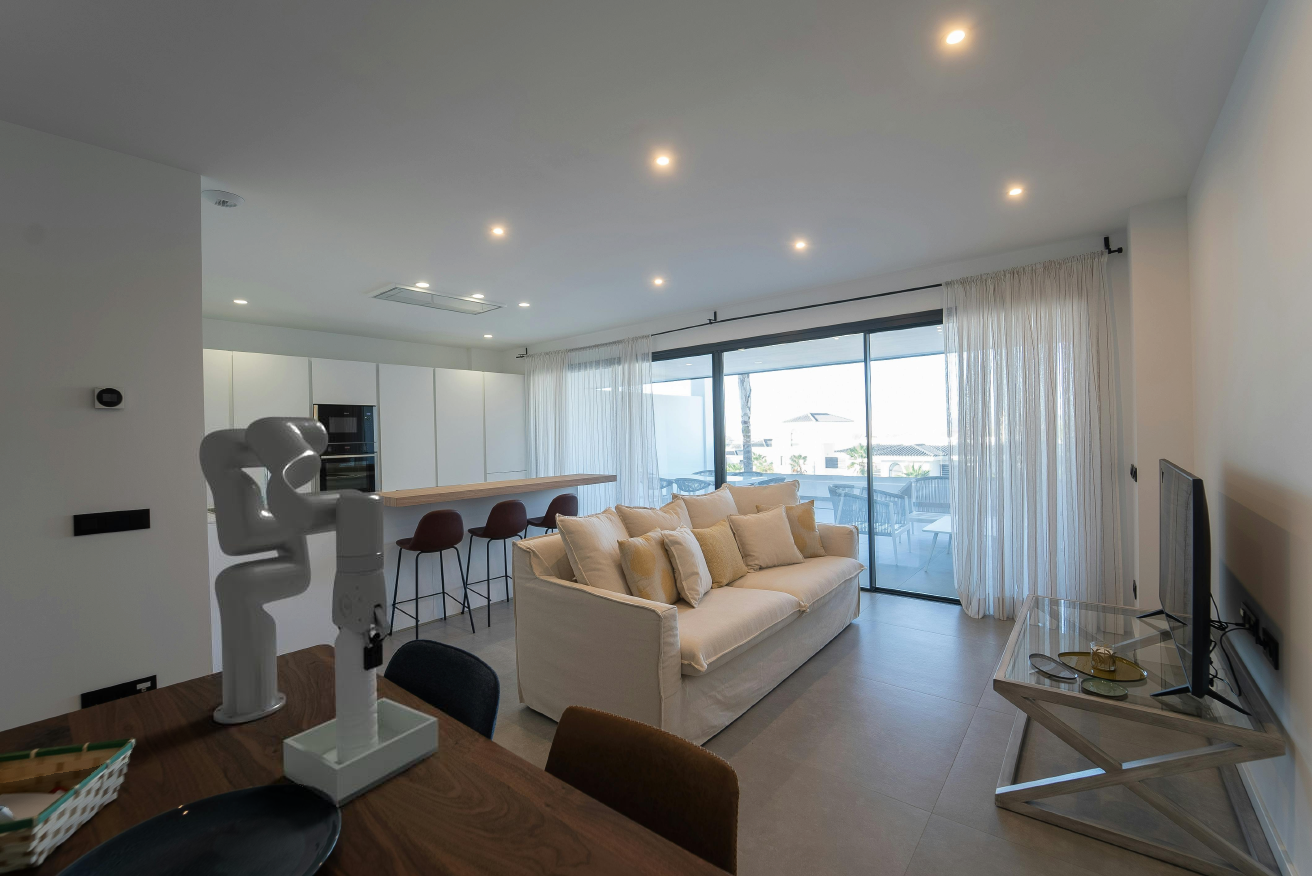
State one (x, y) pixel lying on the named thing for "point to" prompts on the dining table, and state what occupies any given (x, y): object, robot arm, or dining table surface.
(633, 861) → the dining table surface
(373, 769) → the bin
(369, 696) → the water bottle
